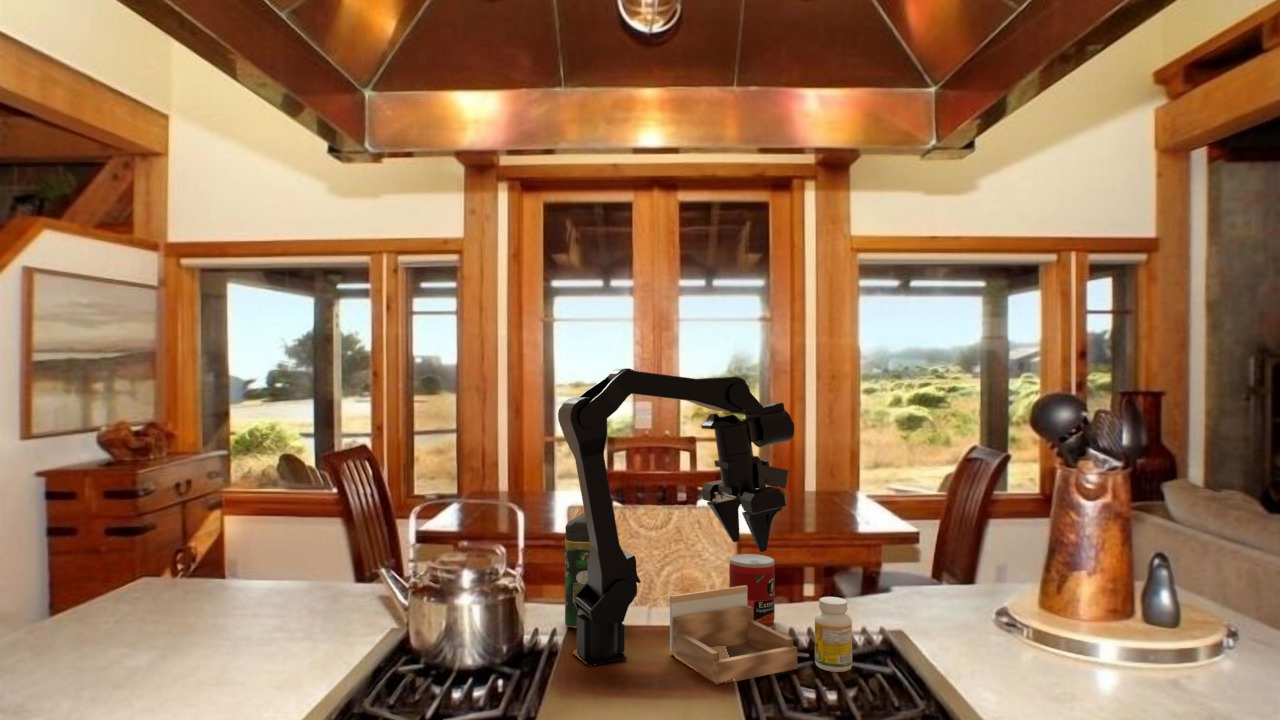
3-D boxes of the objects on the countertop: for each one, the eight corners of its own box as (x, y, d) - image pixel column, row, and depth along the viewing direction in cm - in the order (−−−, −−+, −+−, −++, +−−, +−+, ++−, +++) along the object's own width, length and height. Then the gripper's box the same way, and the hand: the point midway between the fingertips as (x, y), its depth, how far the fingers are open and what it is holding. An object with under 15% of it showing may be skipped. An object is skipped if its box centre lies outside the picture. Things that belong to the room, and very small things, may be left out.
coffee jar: (569, 614, 136) (570, 510, 137) (613, 615, 136) (614, 511, 136) (560, 631, 127) (561, 519, 127) (607, 633, 126) (608, 520, 127)
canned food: (761, 632, 127) (761, 566, 127) (720, 623, 132) (720, 559, 132) (782, 621, 133) (782, 558, 133) (742, 612, 138) (742, 551, 138)
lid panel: (671, 656, 115) (671, 596, 115) (669, 655, 116) (669, 595, 116) (747, 642, 122) (747, 586, 122) (745, 641, 122) (745, 585, 122)
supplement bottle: (850, 675, 108) (849, 607, 109) (812, 669, 110) (811, 603, 110) (854, 662, 113) (853, 597, 114) (817, 657, 115) (817, 593, 116)
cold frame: (716, 685, 104) (716, 641, 104) (673, 657, 115) (673, 617, 115) (797, 668, 110) (797, 626, 111) (749, 643, 121) (749, 605, 121)
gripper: (808, 446, 119) (823, 545, 119) (750, 441, 136) (763, 527, 136) (746, 459, 115) (761, 561, 115) (694, 452, 132) (707, 541, 132)
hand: (749, 546), depth 124 cm, fingers open, 9 cm apart
